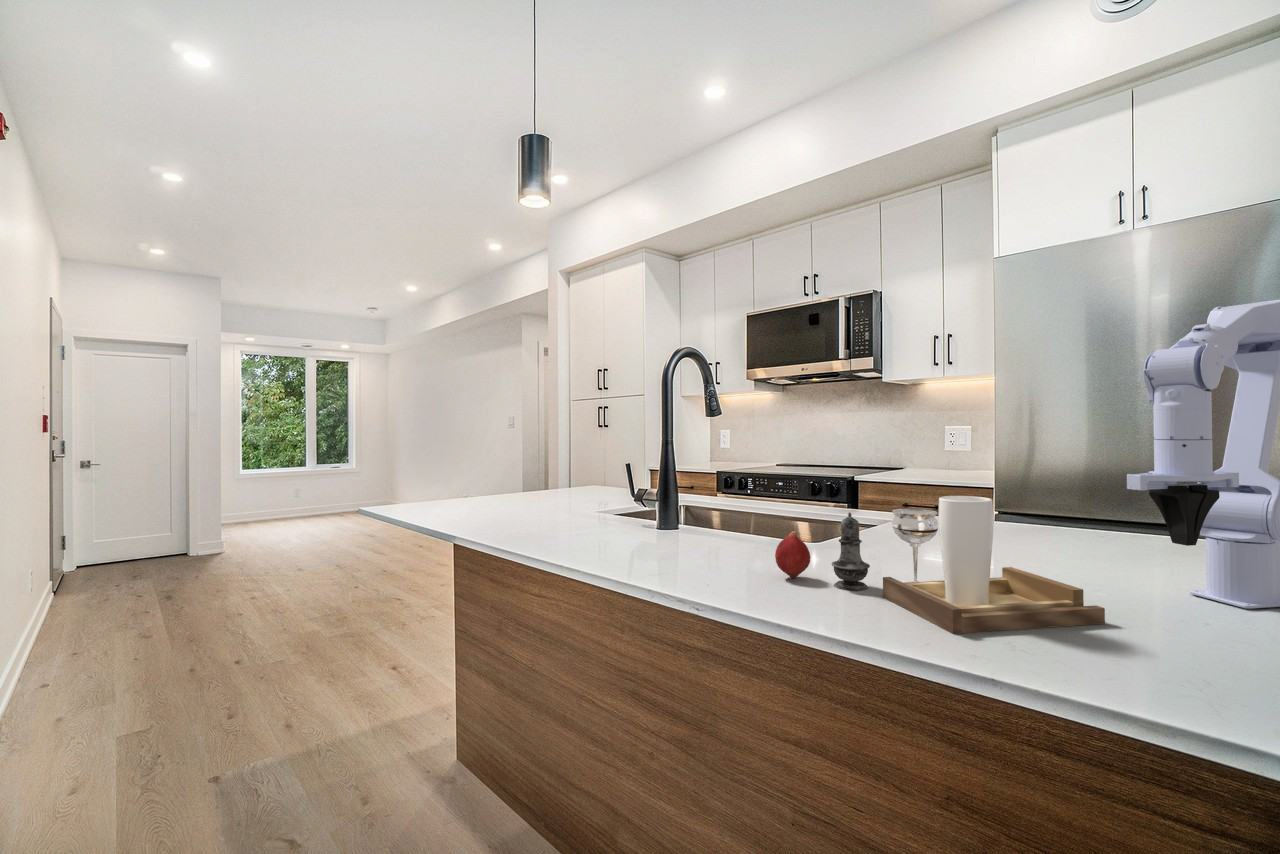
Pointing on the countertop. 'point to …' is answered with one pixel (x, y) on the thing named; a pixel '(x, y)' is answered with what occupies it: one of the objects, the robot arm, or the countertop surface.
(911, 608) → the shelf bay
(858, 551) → the salt shaker
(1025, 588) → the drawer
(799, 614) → the countertop surface
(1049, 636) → the countertop surface
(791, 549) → the onion
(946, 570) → the drinking glass
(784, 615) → the countertop surface
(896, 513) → the wineglass
